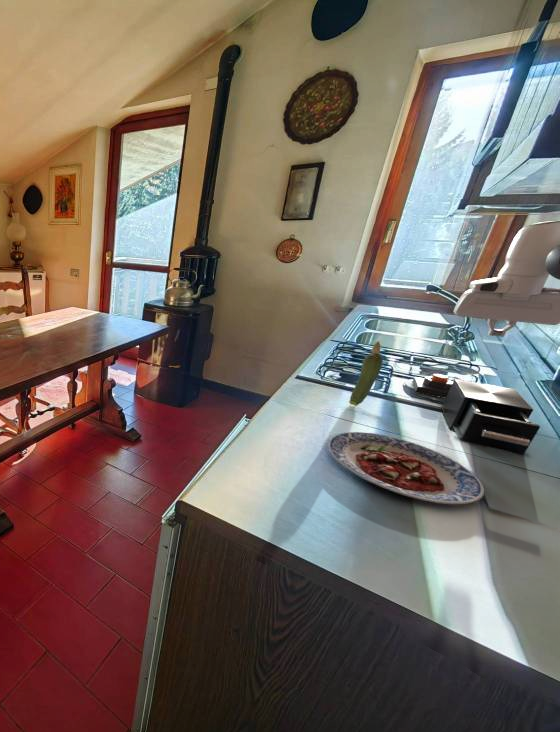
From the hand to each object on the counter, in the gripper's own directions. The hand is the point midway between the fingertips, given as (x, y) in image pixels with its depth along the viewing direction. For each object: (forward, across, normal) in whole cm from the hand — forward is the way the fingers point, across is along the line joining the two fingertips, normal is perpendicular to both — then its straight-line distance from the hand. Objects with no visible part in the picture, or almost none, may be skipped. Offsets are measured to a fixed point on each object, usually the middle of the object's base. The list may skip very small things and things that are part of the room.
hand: (495, 335), depth 110 cm
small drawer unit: (+20, +1, +31) cm, 37 cm away
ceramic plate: (+21, +20, +58) cm, 65 cm away
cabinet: (+21, +1, +19) cm, 28 cm away
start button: (+17, +7, -4) cm, 18 cm away
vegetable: (+20, +27, +24) cm, 41 cm away
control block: (+20, +7, -4) cm, 22 cm away
